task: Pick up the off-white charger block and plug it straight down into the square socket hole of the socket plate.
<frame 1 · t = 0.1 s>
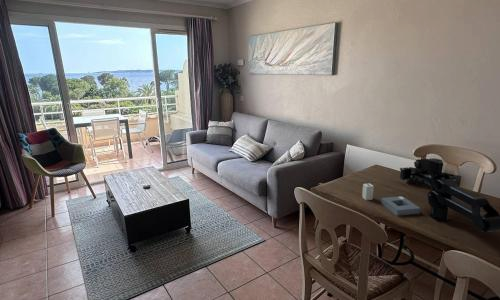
hand: (408, 167, 154), 17 cm above the table, tool horizontal, fingers open, 9 cm apart
muzzle brake: (429, 187, 169), on the table
socket plate: (399, 208, 145), on the table
charger: (367, 198, 157), on the table
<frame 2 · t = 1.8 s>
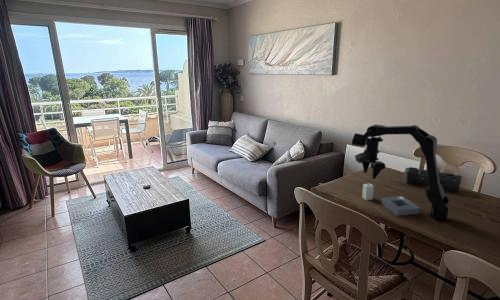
hand: (369, 175, 154), 13 cm above the table, tool pointing down, fingers open, 9 cm apart
nothing on the table moved.
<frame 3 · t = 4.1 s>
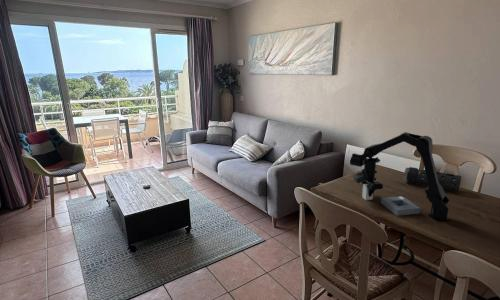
hand: (367, 194, 157), 2 cm above the table, tool pointing down, fingers closed on charger, 4 cm apart
charger: (367, 198, 157), on the table, touching gripper
everything else where it was.
when the fingers open (4 cm above the table, at t = 8.7 s): charger drops 2 cm, resting in socket plate.
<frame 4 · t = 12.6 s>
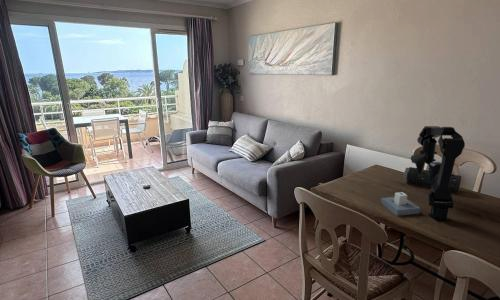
hand: (424, 176, 153), 12 cm above the table, tool pointing down, fingers open, 9 cm apart
charger: (399, 208, 145), resting in socket plate
everything else where it was.
at the end: charger 0.0 cm off-centre on the socket plate, point 0.0 cm above the socket plate's base; charger tilted 0°; the gripper is holding nothing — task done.
